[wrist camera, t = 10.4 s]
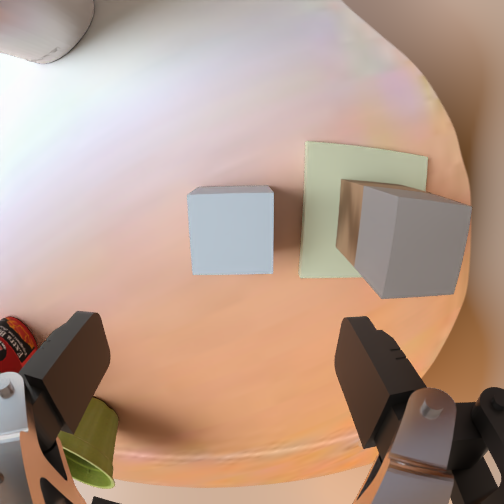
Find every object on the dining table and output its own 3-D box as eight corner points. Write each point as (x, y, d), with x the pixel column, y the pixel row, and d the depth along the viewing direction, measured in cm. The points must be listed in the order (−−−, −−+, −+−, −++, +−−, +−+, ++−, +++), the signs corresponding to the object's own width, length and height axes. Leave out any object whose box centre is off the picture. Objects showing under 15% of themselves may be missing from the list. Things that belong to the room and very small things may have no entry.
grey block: (363, 185, 19) (398, 196, 14) (431, 193, 19) (472, 206, 14) (354, 267, 21) (381, 298, 16) (419, 267, 21) (453, 294, 16)
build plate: (305, 141, 23) (307, 141, 22) (422, 156, 24) (427, 156, 23) (298, 273, 27) (300, 278, 26) (407, 272, 28) (412, 275, 27)
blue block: (198, 186, 25) (187, 194, 20) (268, 185, 25) (273, 192, 20) (201, 253, 26) (192, 274, 22) (267, 252, 27) (272, 273, 22)
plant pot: (50, 382, 32) (18, 433, 22) (108, 381, 32) (77, 446, 21) (89, 432, 36) (69, 481, 25) (147, 435, 35) (131, 494, 25)
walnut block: (340, 179, 23) (363, 185, 19) (400, 184, 24) (431, 193, 19) (335, 246, 25) (354, 267, 21) (393, 247, 26) (419, 266, 21)
